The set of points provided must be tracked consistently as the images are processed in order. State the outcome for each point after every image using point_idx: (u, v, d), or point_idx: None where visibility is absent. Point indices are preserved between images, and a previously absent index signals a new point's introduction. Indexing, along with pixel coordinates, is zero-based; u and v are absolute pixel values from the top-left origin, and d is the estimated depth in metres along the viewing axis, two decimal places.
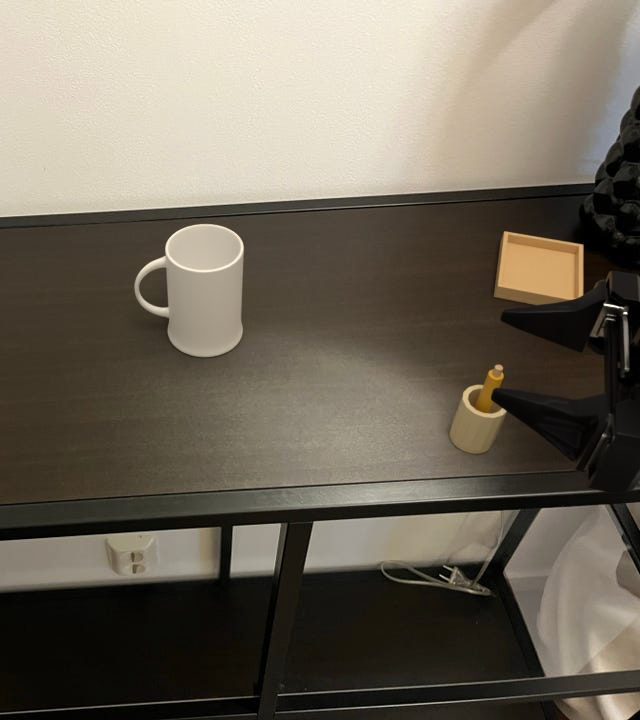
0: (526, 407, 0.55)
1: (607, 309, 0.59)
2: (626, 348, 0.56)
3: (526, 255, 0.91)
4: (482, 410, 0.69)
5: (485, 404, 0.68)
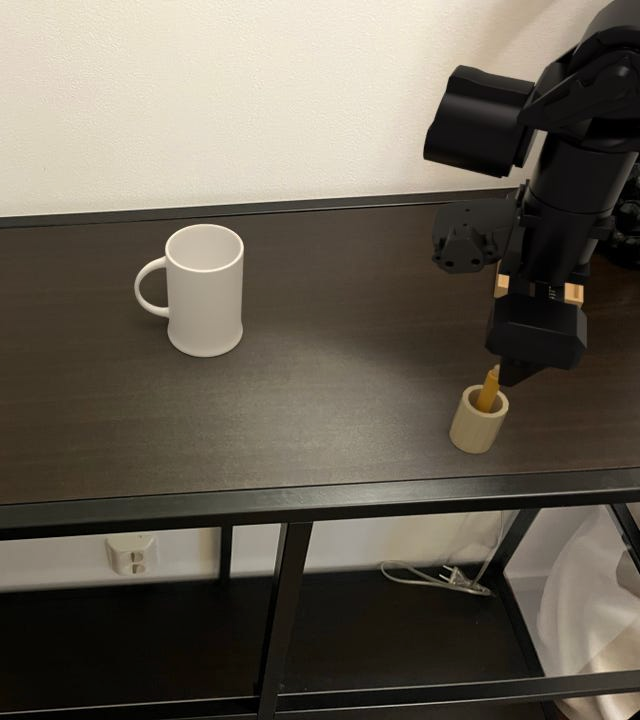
0: (509, 371, 0.59)
1: None
2: None
3: None
4: (482, 410, 0.69)
5: (485, 404, 0.68)
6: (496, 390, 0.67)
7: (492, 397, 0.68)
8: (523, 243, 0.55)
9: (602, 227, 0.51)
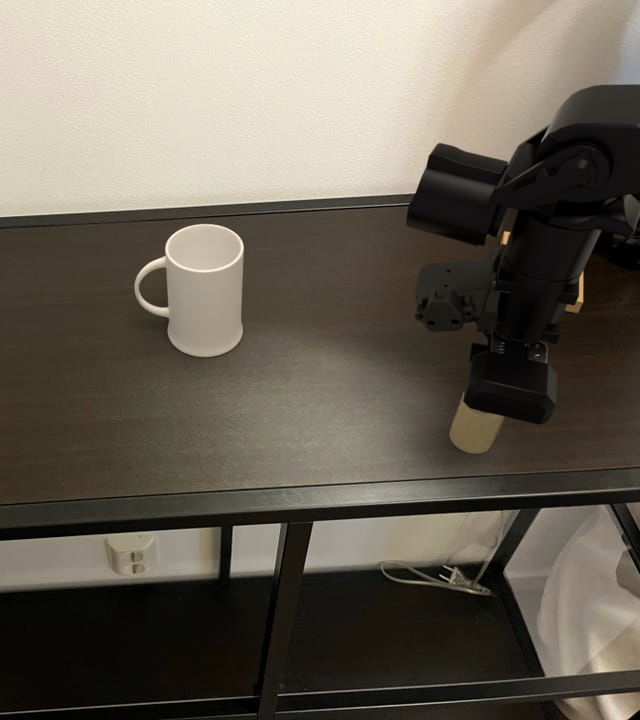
0: None
1: None
2: (491, 340, 0.61)
3: None
4: None
5: None
6: None
7: None
8: (499, 304, 0.59)
9: (570, 293, 0.55)
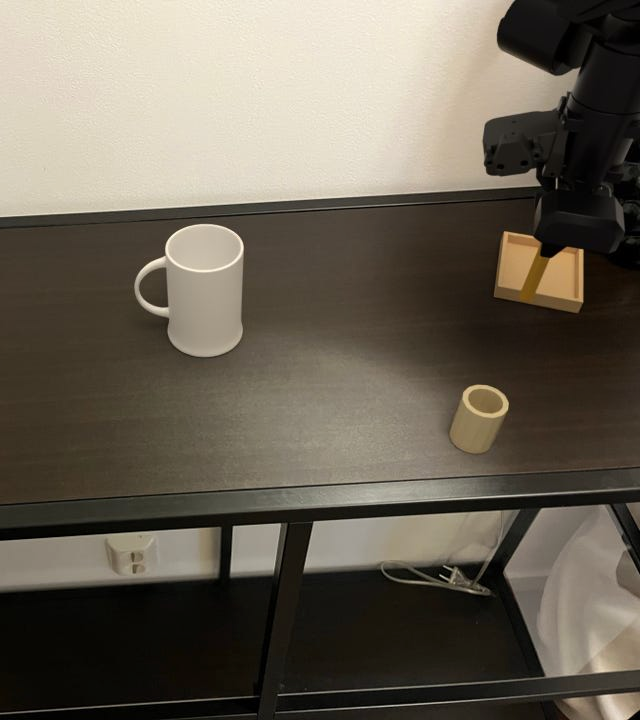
0: None
1: None
2: (556, 185, 0.64)
3: (526, 255, 0.91)
4: (538, 269, 0.72)
5: (542, 262, 0.72)
6: None
7: None
8: (565, 146, 0.62)
9: (637, 127, 0.59)
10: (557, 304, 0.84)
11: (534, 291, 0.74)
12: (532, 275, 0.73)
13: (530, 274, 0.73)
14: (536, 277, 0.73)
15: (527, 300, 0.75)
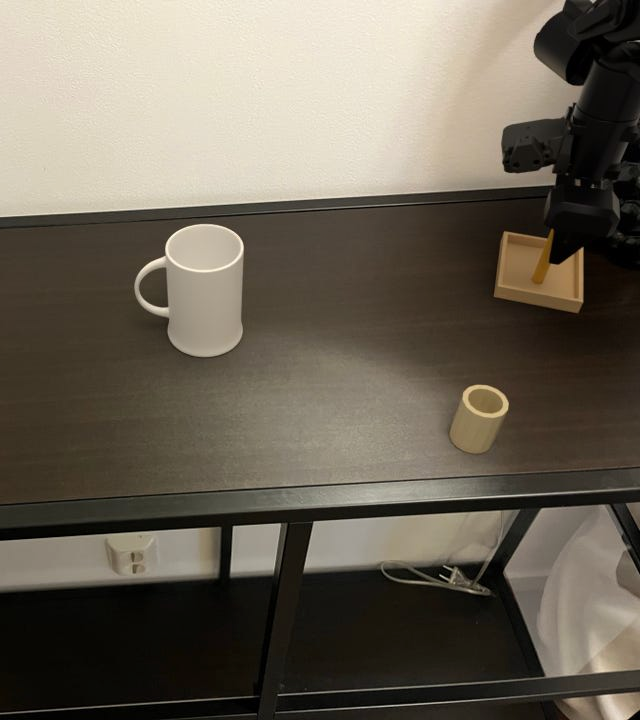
0: (558, 250, 0.78)
1: None
2: None
3: (526, 255, 0.91)
4: (548, 254, 0.84)
5: None
6: None
7: None
8: (571, 148, 0.74)
9: (631, 132, 0.71)
10: (557, 304, 0.84)
11: (545, 274, 0.86)
12: (543, 260, 0.85)
13: (541, 259, 0.85)
14: (546, 261, 0.85)
15: (538, 282, 0.87)
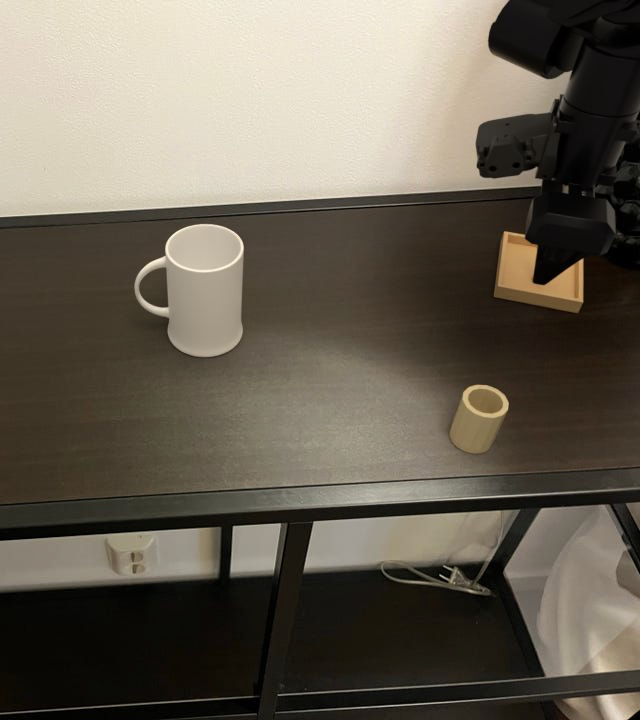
0: (543, 268, 0.66)
1: None
2: None
3: (526, 255, 0.91)
4: None
5: None
6: None
7: None
8: (558, 149, 0.62)
9: (628, 129, 0.59)
10: (557, 304, 0.84)
11: None
12: None
13: None
14: None
15: None
